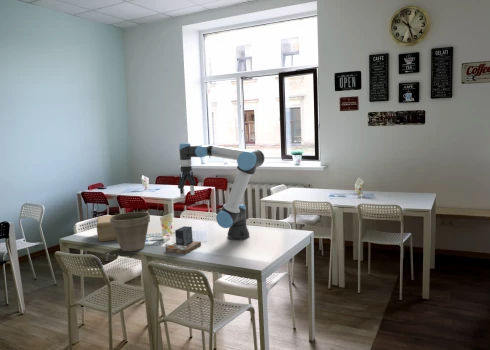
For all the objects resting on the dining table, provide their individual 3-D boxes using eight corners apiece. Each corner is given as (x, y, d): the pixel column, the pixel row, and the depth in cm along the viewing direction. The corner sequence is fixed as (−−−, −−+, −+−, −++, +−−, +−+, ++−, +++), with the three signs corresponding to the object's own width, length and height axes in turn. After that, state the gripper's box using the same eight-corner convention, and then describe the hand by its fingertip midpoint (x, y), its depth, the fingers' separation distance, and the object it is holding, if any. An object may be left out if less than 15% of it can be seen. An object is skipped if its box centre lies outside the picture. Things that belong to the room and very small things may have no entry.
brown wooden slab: (201, 245, 270) (200, 238, 269) (185, 254, 253) (185, 246, 253) (181, 243, 276) (181, 236, 275) (165, 251, 259) (164, 244, 259)
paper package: (135, 229, 318) (134, 211, 317) (138, 238, 294) (136, 218, 292) (98, 234, 310) (96, 215, 308) (97, 243, 286) (96, 223, 284)
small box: (184, 241, 271) (183, 225, 270) (193, 242, 269) (192, 226, 267) (175, 246, 262) (174, 229, 261) (184, 247, 259) (183, 230, 258)
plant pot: (105, 249, 269) (102, 216, 266) (137, 240, 287) (135, 209, 284) (126, 256, 252) (123, 221, 249) (159, 246, 270) (157, 214, 268)
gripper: (190, 163, 296) (191, 193, 298) (171, 167, 273) (173, 199, 275) (199, 163, 293) (201, 193, 295) (181, 167, 270) (183, 199, 273)
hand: (187, 196), depth 285 cm, fingers open, 13 cm apart
